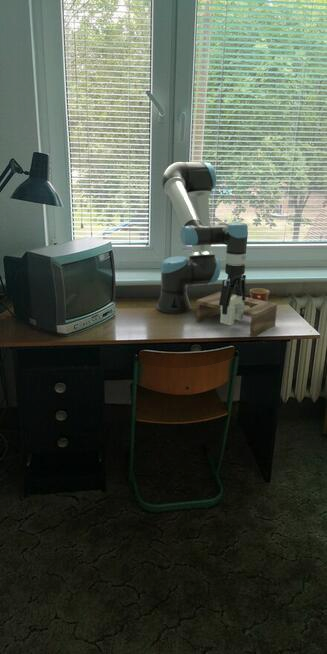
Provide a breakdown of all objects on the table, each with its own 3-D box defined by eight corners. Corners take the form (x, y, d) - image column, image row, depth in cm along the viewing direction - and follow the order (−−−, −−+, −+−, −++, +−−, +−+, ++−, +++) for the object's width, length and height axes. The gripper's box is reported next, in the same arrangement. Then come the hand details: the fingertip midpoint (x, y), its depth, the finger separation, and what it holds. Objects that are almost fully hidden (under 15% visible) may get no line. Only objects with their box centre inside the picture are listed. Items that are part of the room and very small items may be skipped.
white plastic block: (220, 322, 195) (221, 299, 191) (232, 316, 202) (234, 294, 198) (231, 325, 192) (232, 301, 188) (243, 319, 199) (244, 296, 195)
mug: (248, 309, 225) (250, 287, 221) (267, 310, 223) (269, 288, 219) (247, 317, 214) (249, 294, 210) (267, 318, 212) (269, 296, 208)
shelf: (195, 321, 207) (196, 300, 204) (218, 311, 220) (219, 291, 217) (253, 337, 191) (255, 314, 188) (275, 325, 204) (277, 303, 201)
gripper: (228, 270, 178) (225, 327, 186) (257, 260, 195) (253, 313, 202) (211, 267, 183) (208, 323, 190) (241, 257, 199) (237, 310, 207)
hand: (231, 318), depth 196 cm, fingers closed on white plastic block, 9 cm apart
